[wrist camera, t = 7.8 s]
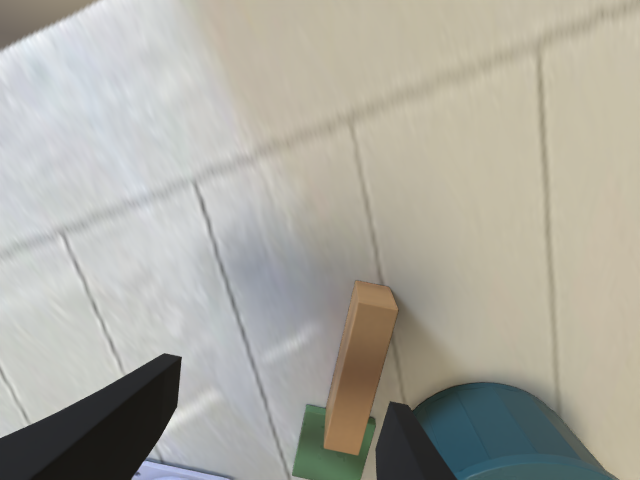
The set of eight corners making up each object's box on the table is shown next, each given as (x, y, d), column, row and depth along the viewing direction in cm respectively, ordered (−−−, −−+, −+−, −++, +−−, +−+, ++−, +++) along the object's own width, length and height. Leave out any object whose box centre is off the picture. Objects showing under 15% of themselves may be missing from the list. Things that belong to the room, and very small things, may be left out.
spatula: (357, 482, 23) (359, 531, 20) (293, 468, 23) (285, 515, 20) (411, 291, 19) (425, 315, 16) (333, 275, 19) (332, 296, 16)
